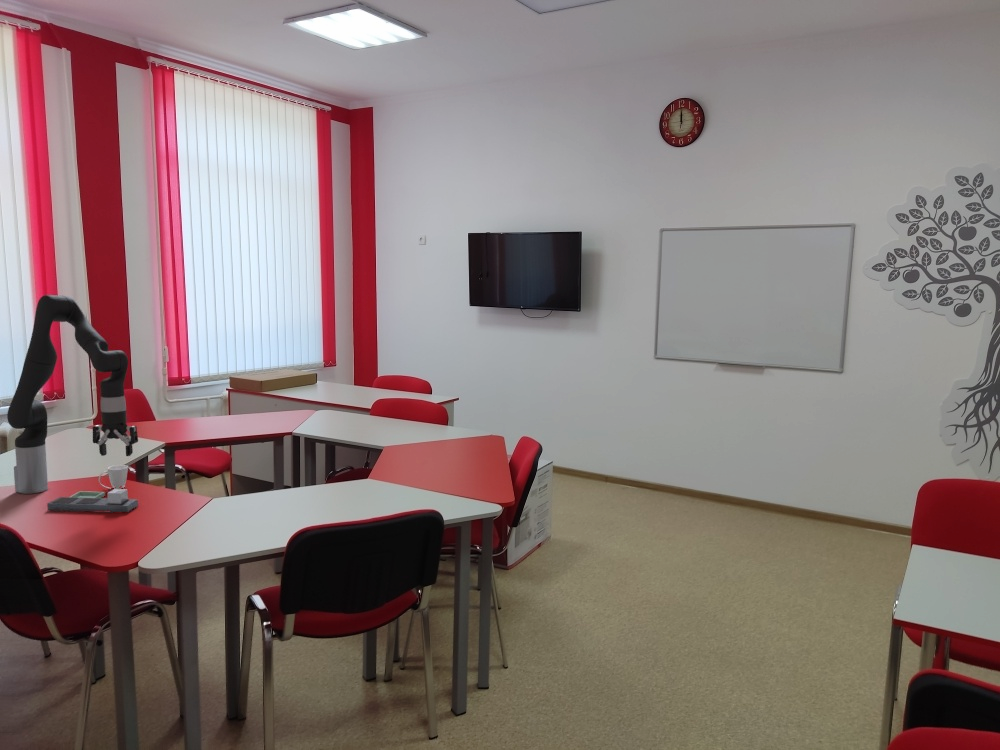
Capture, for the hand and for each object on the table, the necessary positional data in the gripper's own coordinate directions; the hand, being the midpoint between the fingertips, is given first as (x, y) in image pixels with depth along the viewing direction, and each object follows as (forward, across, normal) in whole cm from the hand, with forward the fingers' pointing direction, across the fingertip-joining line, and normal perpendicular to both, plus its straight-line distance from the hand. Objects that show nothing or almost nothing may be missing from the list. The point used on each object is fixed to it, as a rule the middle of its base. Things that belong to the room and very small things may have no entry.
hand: (116, 455), depth 238 cm
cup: (+19, -13, +21) cm, 31 cm away
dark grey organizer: (+19, -9, -1) cm, 21 cm away
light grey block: (+19, 0, -1) cm, 19 cm away
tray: (+18, -16, +8) cm, 26 cm away
